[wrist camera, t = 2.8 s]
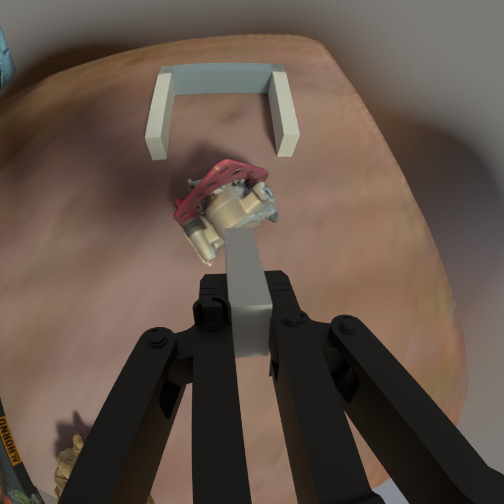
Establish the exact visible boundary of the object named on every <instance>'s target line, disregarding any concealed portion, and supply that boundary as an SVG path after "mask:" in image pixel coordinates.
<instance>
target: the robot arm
mask: <svg viewBox="0 0 504 504" xmlns="http://www.w3.org/2000/svg"><path fill="white" fill-rule="evenodd" d="M15 72H16V70H15V66H14V63H13V60H12V57H11V54H10V52H9V49H8V46H7V43H6V40H5V37H4V34H3V31H2V28H1V26H0V91H1V90H2V89H3V88H4V87H5V86H6V84H8V83H9V82H10V81H11V80H12V79H13V77H14V76H15ZM224 232H225V262H226V274H205V275H204V277H203V278H202V279H201V281H200V291H199V299H198V300H197V301H196V302H195V303H194V305H193V314H194V321H195V324H194V325H193V326H192V327H191V328H189V329H188V330H185V331H182V332H179V333H175V334H174V333H173V332H172V331H171V330H170V329H167V328H165V327H155V328H151V329H149V330H147V331H145V332H144V333H143V334H142V336H141V337H140V339H139V340H138V342H137V344H136V346H135V347H134V349H133V351H132V353H131V354H130V356H129V358H128V360H127V362H126V363H125V365H124V367H123V369H122V371H121V373H120V374H119V376H118V378H117V380H116V382H115V384H114V386H113V388H112V389H111V391H110V393H109V395H108V397H107V399H106V401H105V403H104V405H103V407H102V409H101V411H100V413H99V415H98V417H97V419H96V421H95V423H94V425H93V427H92V429H91V431H90V433H89V435H88V437H87V439H86V441H85V443H84V445H83V447H82V449H81V451H80V454H79V456H78V458H77V460H76V462H75V464H74V467H73V469H72V471H71V473H70V476H69V478H68V480H67V482H66V485H65V487H64V489H63V492H62V494H61V496H60V499H59V501H58V504H146V503H147V500H148V497H149V494H150V491H151V488H152V485H153V482H154V479H155V476H156V473H157V470H158V467H159V464H160V461H161V458H162V455H163V452H164V449H165V446H166V443H167V440H168V437H169V434H170V431H171V428H172V425H173V422H174V420H175V417H176V414H177V411H178V408H179V405H180V402H181V399H182V396H183V394H184V391H185V388H186V384H189V383H192V382H193V384H192V485H193V504H252V502H251V495H250V487H249V480H248V472H247V464H246V456H245V448H244V439H243V430H242V422H241V413H240V403H239V394H238V384H237V374H236V364H235V358H237V357H253V356H266V355H269V350H270V355H271V361H270V371H269V377H270V376H272V377H273V382H274V387H275V392H276V397H277V402H278V407H279V412H280V417H281V422H282V427H283V432H284V437H285V442H286V447H287V452H288V457H289V462H290V467H291V472H292V476H293V481H294V486H295V491H296V496H297V501H298V504H385V502H384V500H383V499H382V498H381V496H380V495H378V494H376V493H374V492H373V491H372V490H371V488H370V485H369V483H368V479H367V476H366V473H365V470H364V467H363V464H362V461H361V458H360V455H359V452H358V449H357V446H356V444H355V441H354V438H353V435H352V432H351V429H350V426H349V423H348V421H347V418H346V415H345V412H346V414H347V415H348V417H349V418H350V420H351V421H352V422H353V424H354V425H355V427H356V428H357V430H358V431H359V433H360V434H361V436H362V437H363V438H364V440H365V441H366V443H367V444H368V446H369V447H370V448H371V450H372V451H373V453H374V454H375V456H376V457H377V459H378V460H379V461H380V463H381V464H382V466H383V467H384V469H385V470H386V471H387V473H388V474H389V476H390V477H391V478H392V480H393V481H394V483H395V484H396V486H397V487H398V488H399V490H400V491H401V493H402V494H403V495H404V497H405V498H406V500H407V501H408V502H409V504H504V475H503V474H501V473H500V472H498V471H496V470H494V469H492V468H490V467H488V466H487V464H486V463H485V462H484V461H483V459H482V458H481V457H480V456H479V455H478V453H477V452H476V451H475V449H474V448H473V447H472V446H471V445H470V443H468V441H467V440H466V439H465V437H464V436H463V435H462V434H461V433H460V431H459V430H458V429H457V428H456V427H455V425H454V424H453V423H452V422H451V421H450V420H449V418H448V417H447V416H446V415H445V414H444V413H443V411H442V410H441V409H440V408H439V407H438V406H437V404H436V403H435V402H434V401H433V400H432V399H431V397H430V396H429V395H428V394H427V393H426V392H425V391H424V390H423V388H422V387H421V386H420V385H419V384H418V383H417V382H416V380H415V379H414V378H413V377H412V376H411V375H410V374H409V373H408V372H407V370H406V369H405V368H404V367H403V366H402V365H401V364H400V363H399V362H398V360H397V359H396V358H395V357H394V356H393V355H392V354H391V353H390V352H389V351H388V349H387V348H386V347H385V346H384V345H383V344H382V343H381V342H380V341H379V340H378V339H377V338H376V336H375V335H374V334H373V333H372V332H371V331H370V330H369V329H368V328H367V327H366V326H365V325H364V324H363V323H362V321H360V320H359V319H358V318H356V317H353V316H351V315H339V316H337V317H335V318H333V320H332V321H331V324H330V323H322V322H317V321H313V320H311V319H310V318H309V317H308V315H307V314H306V313H305V312H303V311H302V310H300V307H299V304H298V302H297V299H296V296H295V294H294V291H293V288H292V286H291V284H290V281H289V278H288V276H287V275H286V274H285V273H284V272H283V271H281V270H277V271H264V270H263V267H262V263H261V259H260V255H259V252H258V248H257V244H256V240H255V237H254V233H253V229H252V228H224ZM344 411H345V412H344Z"/></svg>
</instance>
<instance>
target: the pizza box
mask: <svg viewBox="0 0 504 504" xmlns="http://www.w3.org/2000/svg"><path fill="white" fill-rule="evenodd" d="M0 504H45V502H44V500H43V499H42V497H41V495H40V493H39V491H38V489H37V487H35V486H34V485H33V484H32V482H31V480H30V477H29V475H28V473H27V471H26V469H25V467H24V464H23V462H22V460H21V458H20V455H19V453H18V450H17V448H16V445H15V443H14V440H13V437H12V434H11V431H10V429H9V426H8V423H7V419H6V416H5V413H4V410H3V406H2V403H1V399H0Z"/></svg>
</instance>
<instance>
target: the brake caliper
mask: <svg viewBox="0 0 504 504" xmlns="http://www.w3.org/2000/svg"><path fill="white" fill-rule="evenodd" d="M237 170H239V171H238V172H236V173H235V174H233V173H234V172H235V171H237ZM267 177H268V171H267V170H265V169H264V168H260V167H256V166H253V165H251V164H246V163H244V162H239V161H235V160H231V159H224V160H222V161H219V162H218V163H217V164H215V165H214V166H213V167H212V169H211V170H210V171H209V172H208V174H207V175H206V176H205V177H204V178H203V179H201V180H197V181H193V182H192V180H191V179H188V181H187V191H188V193H189V194H188V196H187V197H186V198H185V199H181V198H180V199H177V200H175V205H176V207H177V210H176V211H175V213H174V219H175V220H176V221H177V222H178V223H179V224H180V226H181V227H182V228H183V229H184V235H185V237H186V239H187V240H188V241H189V243H190V244H191V245H192V246H193V248H194V249H195V251H196V253H197V255H198V257H199V258H200V259H201V260H202V262H204V263H206V264H207V265H208V266H212V264H213V259H214V258H215V250H217V249H219V248H220V247H221V246H223V245H224V243H225V232H224V228H252V229H254V228H255V227H257V226H259V225H260V224H261V223H262V221H264V220H265V219H268V220H270V221H272V222H277V221H278V220H279V216H278V212H277V209H276V207H275V206H274V204H273V202H275V197H274V195H273V192H272V190H271V188H270V186H268V185H266V186H265V183H264V182H265V180H266V179H267Z"/></svg>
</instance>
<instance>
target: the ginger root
mask: <svg viewBox="0 0 504 504" xmlns="http://www.w3.org/2000/svg"><path fill="white" fill-rule="evenodd" d="M72 440H73V448H72V449H71V448H68V449H65V450H64V451H62V452H60V453H59V455H58V457H57V458H56V464H57V465H58V467H57V470H56V471H55V483H56V485H57V486H56V488H55V494H56V495H57V496H58V499H57V503H58V501H59V499H60V496H61V494H62V492H63V489H64V487H65V485H66V482H67V480H68V478H69V476H70V473H71V471H72V469H73V467H74V464H75V462H76V460H77V458H78V456H79V454H80V451H81V449H82V447H83V445H84V443H83V440H82V438H81V436H80V435H79V434H78V433H76V434H74V435H73V439H72ZM146 504H155V503H154V501H153V499H152V496H151V495H150V494H149V497H148V500H147V503H146Z"/></svg>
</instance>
